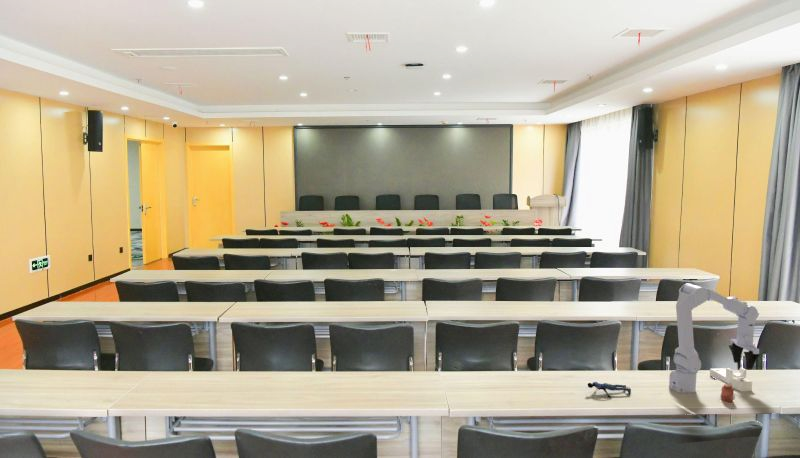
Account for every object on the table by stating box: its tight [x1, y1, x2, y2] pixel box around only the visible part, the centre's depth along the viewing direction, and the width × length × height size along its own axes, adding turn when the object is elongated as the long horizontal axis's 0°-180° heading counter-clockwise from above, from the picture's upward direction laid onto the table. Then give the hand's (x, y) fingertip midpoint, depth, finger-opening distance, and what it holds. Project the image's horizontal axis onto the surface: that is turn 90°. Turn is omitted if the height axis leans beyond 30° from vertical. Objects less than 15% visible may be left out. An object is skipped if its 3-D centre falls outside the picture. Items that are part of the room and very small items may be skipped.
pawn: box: [720, 383, 735, 404], centre depth 215 cm, size 4×4×6 cm
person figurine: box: [587, 381, 632, 400], centre depth 225 cm, size 11×4×18 cm
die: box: [731, 377, 753, 392], centre depth 228 cm, size 5×5×5 cm
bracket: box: [709, 367, 747, 386], centre depth 239 cm, size 13×7×8 cm, turn 4°
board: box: [718, 391, 736, 405], centre depth 220 cm, size 15×6×1 cm, turn 147°
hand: (743, 365), depth 230 cm, fingers open, 7 cm apart
